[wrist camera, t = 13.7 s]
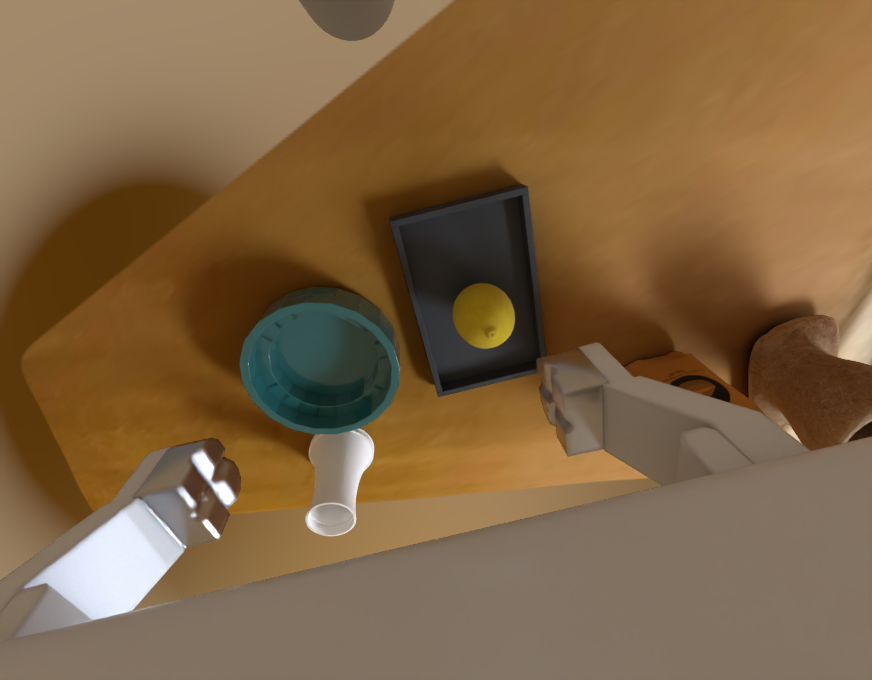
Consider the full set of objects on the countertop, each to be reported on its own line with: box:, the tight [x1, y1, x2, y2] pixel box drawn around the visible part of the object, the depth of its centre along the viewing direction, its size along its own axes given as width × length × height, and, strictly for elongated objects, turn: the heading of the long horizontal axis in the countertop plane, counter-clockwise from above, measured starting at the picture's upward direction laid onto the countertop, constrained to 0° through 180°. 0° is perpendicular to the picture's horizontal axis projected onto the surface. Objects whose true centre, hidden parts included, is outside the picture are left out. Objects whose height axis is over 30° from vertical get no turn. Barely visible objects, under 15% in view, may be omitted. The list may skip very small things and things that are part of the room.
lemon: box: [453, 283, 515, 349], centre depth 36 cm, size 6×6×8 cm
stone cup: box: [748, 315, 872, 451], centre depth 42 cm, size 15×12×15 cm
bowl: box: [239, 287, 400, 434], centre depth 39 cm, size 15×15×4 cm
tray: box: [390, 184, 546, 397], centre depth 39 cm, size 19×12×2 cm, turn 12°
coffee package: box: [624, 351, 768, 418], centre depth 38 cm, size 10×12×22 cm
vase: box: [305, 428, 374, 536], centre depth 43 cm, size 8×8×10 cm
